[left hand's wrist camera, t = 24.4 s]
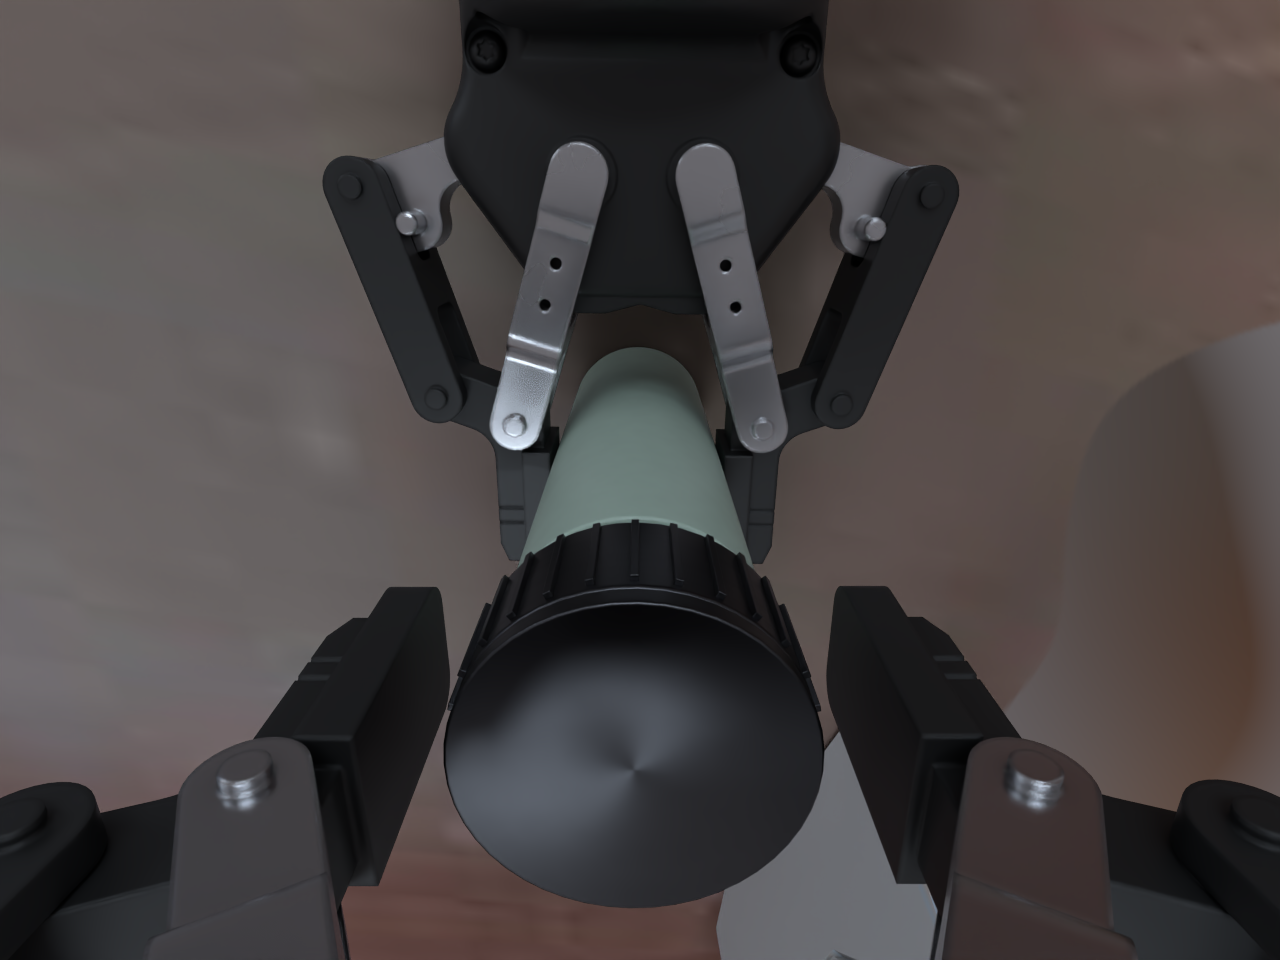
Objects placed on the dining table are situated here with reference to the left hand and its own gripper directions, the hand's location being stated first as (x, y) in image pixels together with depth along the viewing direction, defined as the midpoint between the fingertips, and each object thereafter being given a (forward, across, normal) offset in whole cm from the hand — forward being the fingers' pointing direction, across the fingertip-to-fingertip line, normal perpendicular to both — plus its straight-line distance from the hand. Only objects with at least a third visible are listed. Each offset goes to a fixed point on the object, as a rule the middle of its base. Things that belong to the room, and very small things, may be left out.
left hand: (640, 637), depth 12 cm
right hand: (+8, 0, -3) cm, 8 cm away
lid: (-3, 0, 0) cm, 3 cm away
